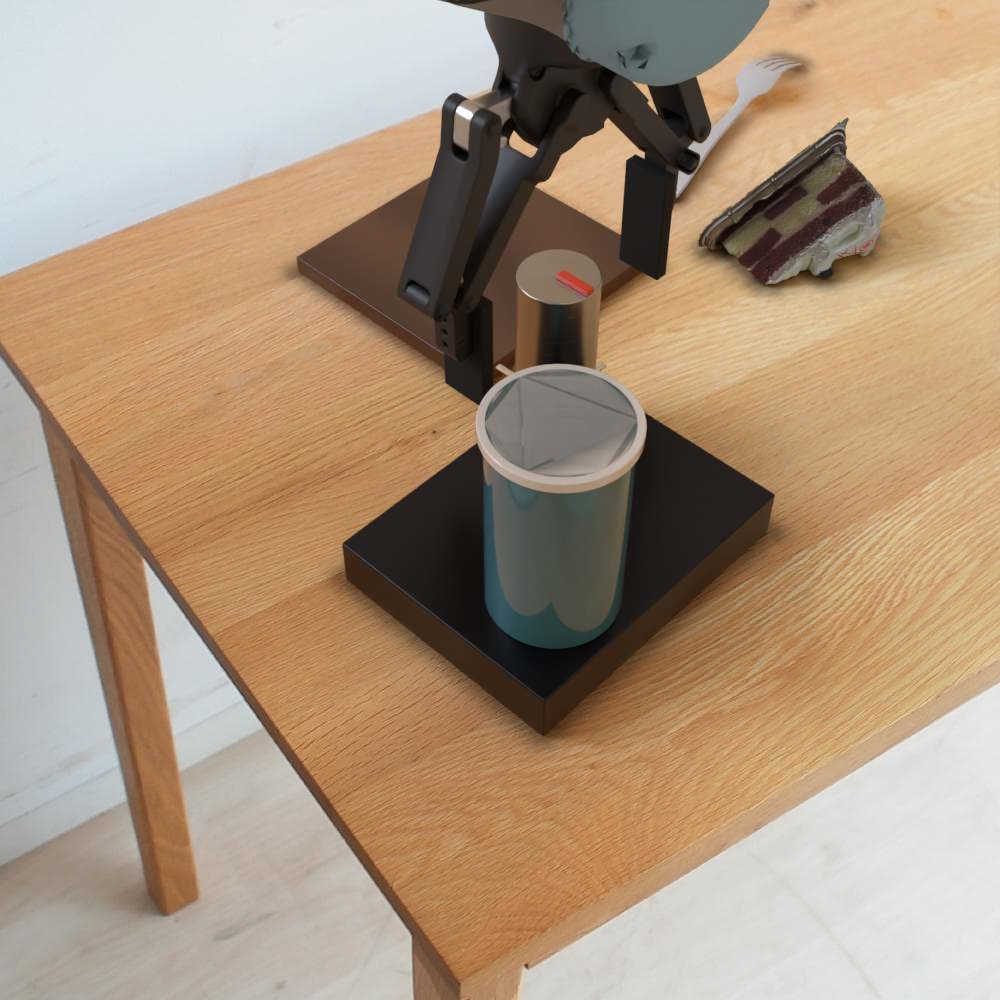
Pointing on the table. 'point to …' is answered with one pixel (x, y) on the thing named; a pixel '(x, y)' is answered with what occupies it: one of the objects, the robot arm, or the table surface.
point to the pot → (557, 500)
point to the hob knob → (557, 310)
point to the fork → (739, 104)
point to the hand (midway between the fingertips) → (559, 327)
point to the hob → (647, 581)
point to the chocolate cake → (802, 215)
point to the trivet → (382, 254)
